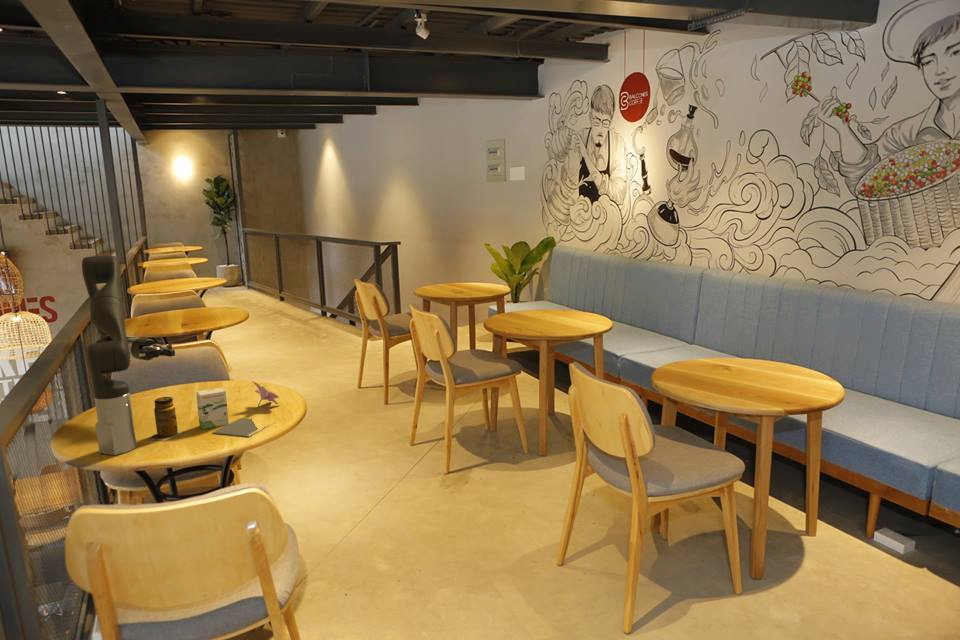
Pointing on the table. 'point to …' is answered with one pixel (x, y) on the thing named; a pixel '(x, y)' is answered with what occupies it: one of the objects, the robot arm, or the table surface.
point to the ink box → (212, 408)
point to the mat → (239, 428)
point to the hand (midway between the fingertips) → (173, 353)
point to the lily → (265, 394)
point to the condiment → (165, 419)
